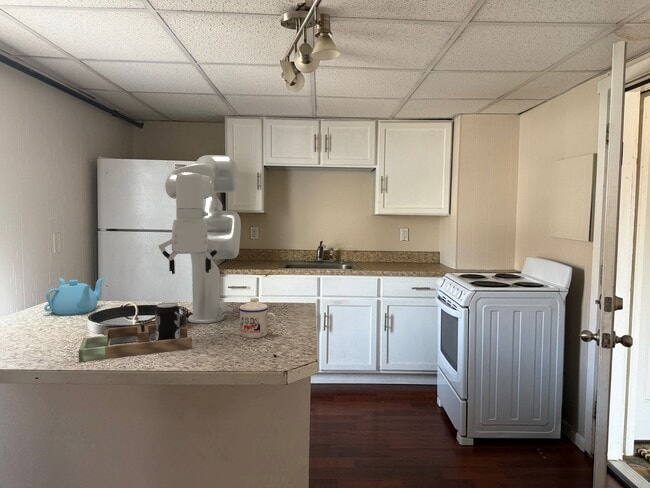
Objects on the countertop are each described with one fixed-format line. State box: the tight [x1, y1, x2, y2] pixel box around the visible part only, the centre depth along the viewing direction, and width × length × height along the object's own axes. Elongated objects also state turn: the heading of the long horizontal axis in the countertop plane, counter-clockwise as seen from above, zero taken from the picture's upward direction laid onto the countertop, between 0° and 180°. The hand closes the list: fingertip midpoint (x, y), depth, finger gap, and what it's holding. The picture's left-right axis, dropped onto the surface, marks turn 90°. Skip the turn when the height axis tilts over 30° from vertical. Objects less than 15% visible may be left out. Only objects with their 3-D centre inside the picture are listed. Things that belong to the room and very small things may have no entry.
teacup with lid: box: [238, 297, 277, 339], centre depth 134 cm, size 12×9×12 cm
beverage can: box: [154, 301, 181, 341], centre depth 122 cm, size 7×7×12 cm
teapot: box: [43, 277, 106, 316], centre depth 163 cm, size 17×19×12 cm
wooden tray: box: [78, 323, 193, 363], centre depth 123 cm, size 28×20×3 cm
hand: (190, 272), depth 125 cm, fingers open, 9 cm apart
